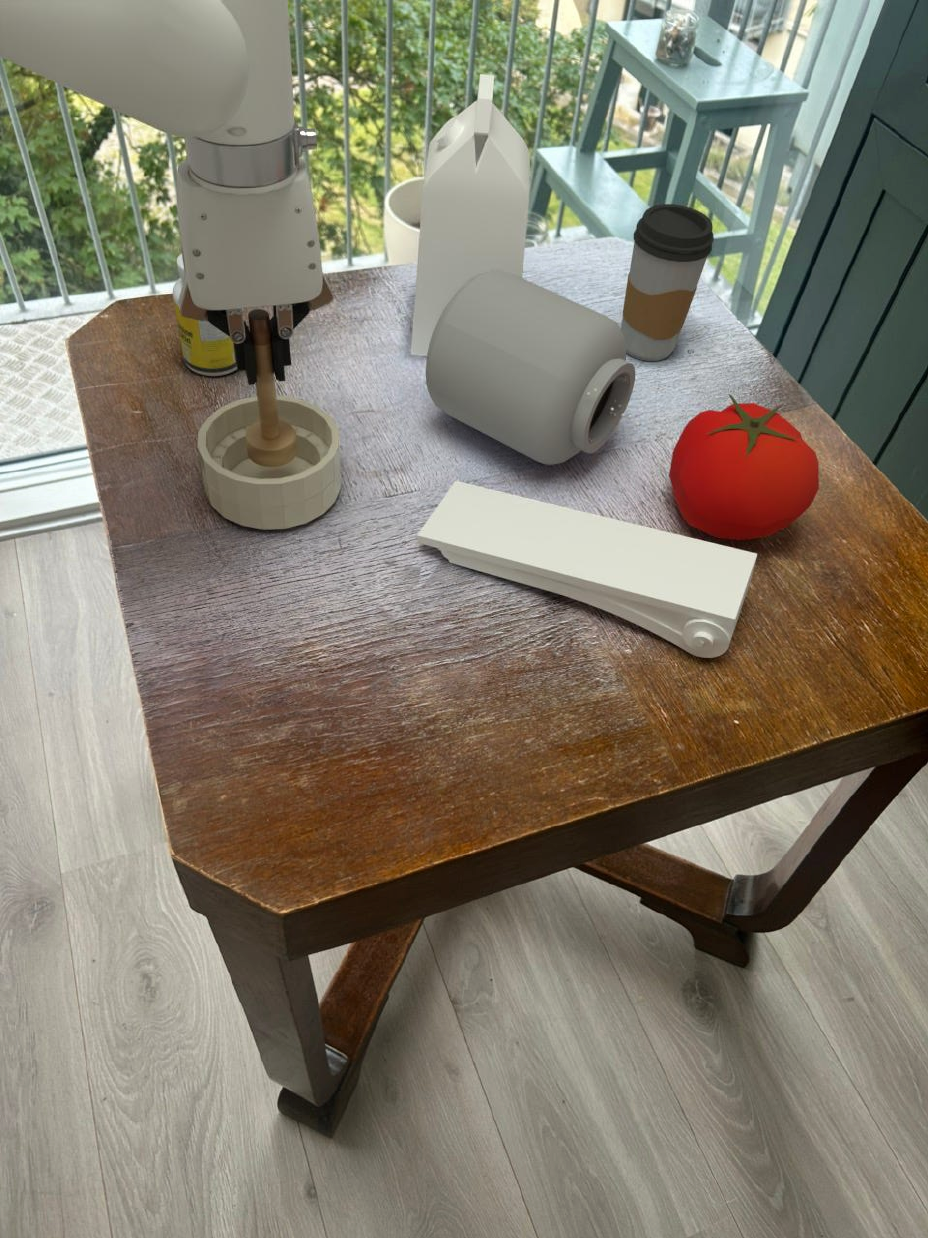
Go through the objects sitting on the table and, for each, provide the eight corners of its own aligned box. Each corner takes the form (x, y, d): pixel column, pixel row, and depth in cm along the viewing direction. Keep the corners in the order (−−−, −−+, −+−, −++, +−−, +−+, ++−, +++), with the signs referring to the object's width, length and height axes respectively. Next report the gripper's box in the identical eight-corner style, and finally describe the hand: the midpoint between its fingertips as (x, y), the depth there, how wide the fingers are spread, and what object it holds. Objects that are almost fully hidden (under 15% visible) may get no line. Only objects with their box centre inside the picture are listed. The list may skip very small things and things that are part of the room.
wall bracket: (424, 593, 90) (721, 678, 81) (409, 550, 83) (729, 637, 75) (464, 511, 94) (751, 583, 85) (453, 463, 88) (761, 536, 79)
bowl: (178, 500, 88) (167, 449, 83) (259, 430, 95) (254, 379, 90) (290, 553, 84) (286, 502, 80) (365, 475, 92) (365, 425, 87)
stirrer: (237, 456, 86) (218, 317, 75) (266, 430, 88) (252, 293, 78) (278, 473, 85) (264, 336, 74) (306, 447, 87) (297, 310, 77)
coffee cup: (665, 323, 114) (697, 199, 102) (693, 364, 108) (731, 238, 97) (599, 329, 112) (625, 203, 100) (625, 370, 107) (656, 243, 95)
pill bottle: (190, 341, 104) (174, 240, 95) (250, 345, 104) (239, 244, 95) (178, 376, 100) (160, 274, 91) (241, 381, 100) (229, 279, 91)
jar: (545, 309, 105) (740, 390, 91) (484, 432, 107) (664, 527, 94) (448, 233, 89) (666, 317, 76) (379, 379, 92) (577, 484, 78)
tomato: (685, 457, 97) (717, 361, 89) (810, 511, 93) (856, 415, 85) (635, 525, 90) (664, 426, 81) (768, 586, 86) (814, 489, 78)
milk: (514, 364, 106) (547, 118, 86) (410, 354, 105) (420, 105, 86) (515, 305, 114) (546, 68, 94) (419, 296, 113) (429, 56, 94)
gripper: (342, 121, 70) (347, 338, 84) (119, 132, 67) (163, 357, 81) (364, 167, 66) (366, 389, 80) (127, 182, 62) (172, 412, 76)
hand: (264, 372), depth 80 cm, fingers closed on stirrer
